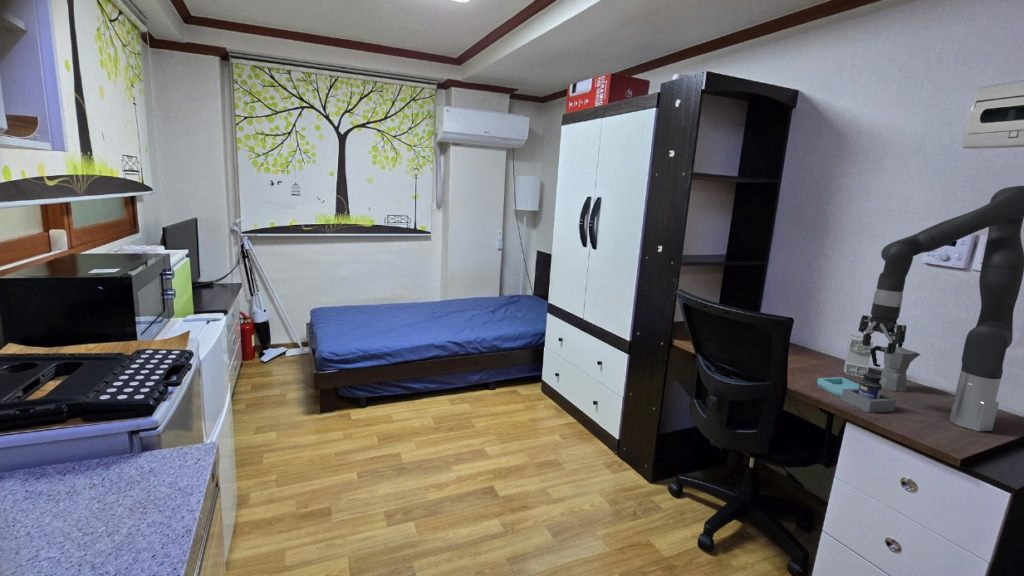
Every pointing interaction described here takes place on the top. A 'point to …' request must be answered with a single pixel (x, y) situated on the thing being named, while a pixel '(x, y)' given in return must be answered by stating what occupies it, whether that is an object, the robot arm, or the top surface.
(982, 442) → the top surface
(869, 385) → the pill bottle
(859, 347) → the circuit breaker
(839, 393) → the tray
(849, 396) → the holder
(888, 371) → the coffeepot
